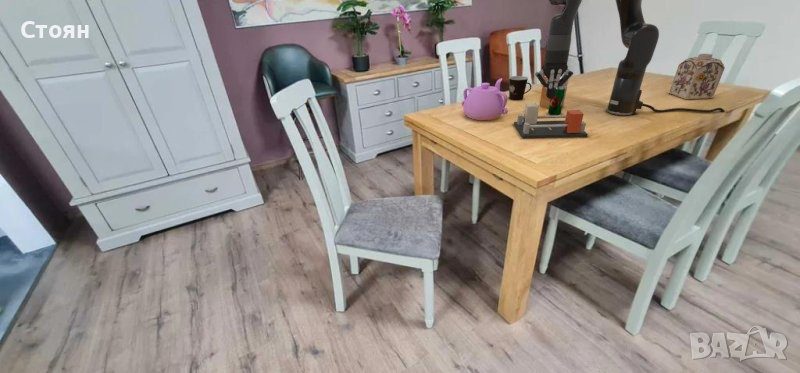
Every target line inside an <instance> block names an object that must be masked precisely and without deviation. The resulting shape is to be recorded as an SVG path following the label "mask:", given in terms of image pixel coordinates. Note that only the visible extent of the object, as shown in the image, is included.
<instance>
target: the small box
mask: <svg viewBox="0 0 800 373" xmlns="http://www.w3.org/2000/svg"><path fill="white" fill-rule="evenodd" d="M563 76H564V75H562V76H561V77H560V79H561V78H562V77H563ZM543 79H544V80H545V82H546V83H547V77H546V76H545V75H543ZM568 83H569V79H568V80H567V81H566V82H565V83H564V84H563V85H565V88H566V90H565V95H564V100H563V106H562V109H563V108H564V105H565V100H566V94H567V90H568ZM546 92H547V87H544V86H543V85H542V87H541V94H540V99H539V107H544V108H547V109H549V104H550V99H548V98H547V96H546Z"/></svg>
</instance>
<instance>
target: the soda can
mask: <svg viewBox="0 0 800 373" xmlns="http://www.w3.org/2000/svg"><path fill="white" fill-rule="evenodd" d="M565 90H566V88H565V85H562V86H561V87H560V86H559V87H557V88H556V93H555V97H553V99H550V104H549V108H548V110H547V115H548V116H553V115H562V111H563V108H562V106H563V107H564V105H563V100H564V95H565ZM566 91H567V90H566ZM565 96H566V95H565ZM564 101H565V100H564Z"/></svg>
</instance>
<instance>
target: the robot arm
mask: <svg viewBox="0 0 800 373" xmlns="http://www.w3.org/2000/svg"><path fill="white" fill-rule="evenodd" d="M642 1H643V0H615V5H616V8H617V12H618V17H619V18H618V19H619V27H620V38H621V43H622V45H623V46H624V47H625V48H627V53H626V55H625V57H624V59H622V60H620V61H619V63H618V66H617V69H616V74H615V77H614V81H613V86H612V89H611V93H610V97H609V101H608V105H607V108H606V112H607V113H608V114H610V115H614V116H622V117H623V116H631V115H636V113H637V110H642V108H643V107H645V108H648V109H650V110H651V111H653V112H655V113H669V112H676V111H680V112H681V111H683V112H694V113H714V112H717V111H719V112H721V113H725V112H726V111H725V109H724V108H722V107H716V108H713V109H697V108H685V107H674V108H667V109H656V108H655V107H654V106H652V105H650V104H646V103H644V102H643V101H641V100H640V99H641V95H642V92H643V89H641V87H642V83H643V81H644V77H645V75H646V70H647V67H648V65H649V64H650V63H651V61H652V59H653V56H654V53H655V51H656V48H657V45H658V42H659V38H660V31H659V30H660V29H659V28H658V27H657V25H655V24H652V23H647V22H646V21H645V18H644V13H643V9H642ZM582 2H583V0H548V3H549V4H550V5H551V6H555V7H564V6H565V7H564V10H563V11H562V12H561V13H557V14H554V15H553V16H552V17H551V18H550V23H549V30H548V36H547V41H546V44H545V54H544V59H543V60H544V63H543V65H542V67H541V69H540V70H539V71H536V72H535V73H534V75H535V77H536V78H537V80H538V81H539V83H540V84H541V85H542V86H544V87H547V92H546V96H547V98H548V99H553V97H555V93H556V88H557V87H559V86H560V87H561V86H562V85H563V84H564V83H565V82H566V81H567V80H568V81H569V79H570V78H571V77H572V76H573V75H574V72H573V71H571V70H570V69H569V66H568V61H569V55H570V50H571V45H572V44H571V43H572V33H573V28H574V27H573V26H574V22H575V18H576V15H577V13H578V11H579V8H580V6H581V3H582ZM544 76H546V77H547V83H546V82H545V80H544ZM561 76H563V77H562V78H561V79H560V77H561Z"/></svg>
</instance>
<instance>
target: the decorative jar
mask: <svg viewBox="0 0 800 373" xmlns="http://www.w3.org/2000/svg"><path fill="white" fill-rule="evenodd" d="M725 69H726V67H725V65H724V63H723V62H722V60H721V59H720V58H718V59H717V58H715V57H713V53H699V54H698V55H697V56H694V57H688V58H687V59H684V60H683V61H681V62H680V63H679V64H678V66H677V69H676V71H675V74H674V77H673V80H672V82H671V86H670V89H669V92H668V94H669V95H672V96H675V97H678V98H680V99H683V100H705V99H707V100H708V99H714V96H715V93H716V91H717V89H718V87H719V84H720V82H721V79H722V76H723V74H724V71H725Z"/></svg>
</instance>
